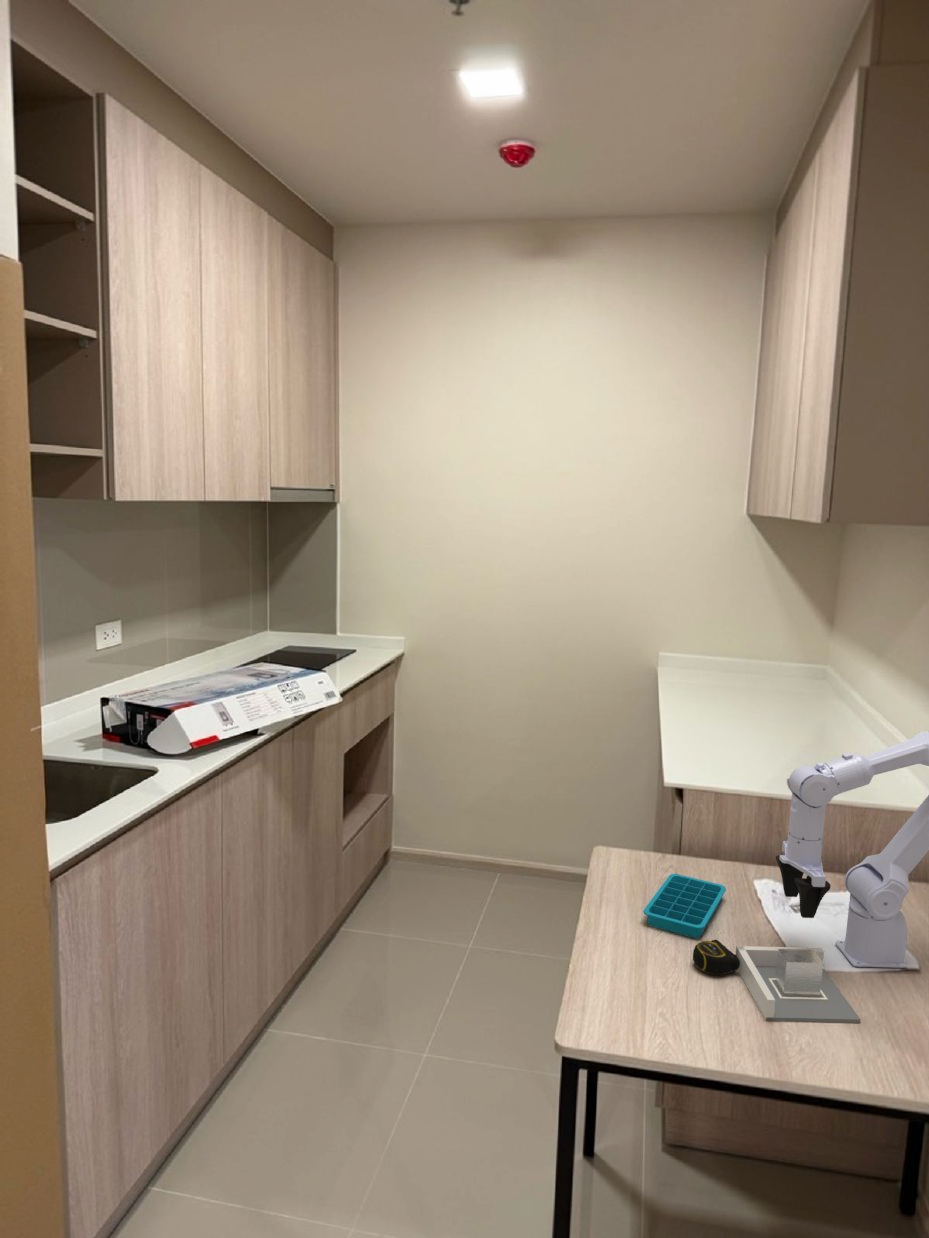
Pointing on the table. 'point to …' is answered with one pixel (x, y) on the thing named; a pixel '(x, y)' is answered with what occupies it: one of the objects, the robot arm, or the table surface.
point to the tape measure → (715, 958)
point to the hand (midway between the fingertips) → (798, 906)
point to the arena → (776, 1007)
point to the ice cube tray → (684, 905)
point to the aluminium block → (799, 972)
